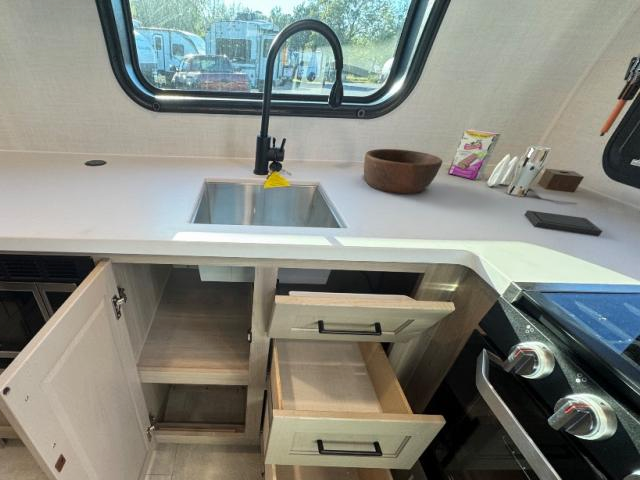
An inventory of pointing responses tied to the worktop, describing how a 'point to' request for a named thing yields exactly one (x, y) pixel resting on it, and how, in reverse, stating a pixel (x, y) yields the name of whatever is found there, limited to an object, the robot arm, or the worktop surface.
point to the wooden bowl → (400, 170)
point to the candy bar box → (473, 154)
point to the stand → (560, 180)
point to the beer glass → (528, 169)
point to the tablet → (561, 227)
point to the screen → (562, 220)
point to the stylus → (613, 115)
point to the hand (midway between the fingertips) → (624, 99)
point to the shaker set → (503, 171)
